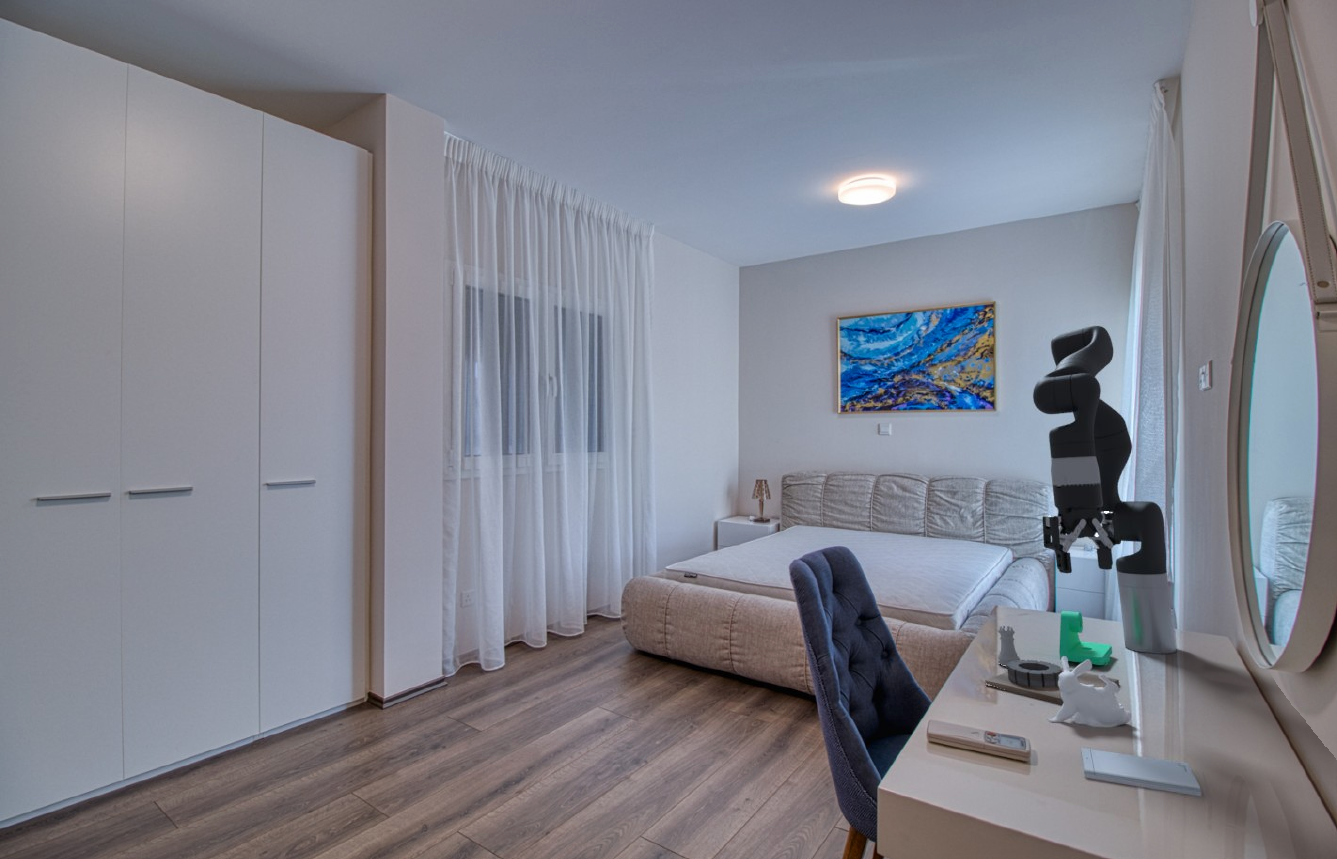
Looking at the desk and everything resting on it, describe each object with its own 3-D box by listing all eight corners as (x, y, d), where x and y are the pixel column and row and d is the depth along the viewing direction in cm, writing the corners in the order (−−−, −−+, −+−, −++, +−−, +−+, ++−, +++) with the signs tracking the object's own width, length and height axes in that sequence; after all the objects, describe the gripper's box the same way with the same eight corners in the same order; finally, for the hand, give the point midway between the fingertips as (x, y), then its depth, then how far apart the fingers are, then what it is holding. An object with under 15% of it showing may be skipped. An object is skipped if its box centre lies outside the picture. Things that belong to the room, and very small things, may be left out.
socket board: (1033, 666, 133) (1031, 650, 133) (1119, 684, 119) (1117, 666, 120) (985, 685, 123) (984, 667, 123) (1073, 707, 110) (1071, 686, 110)
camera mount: (1103, 670, 129) (1097, 619, 130) (1060, 664, 134) (1055, 615, 135) (1113, 656, 137) (1108, 609, 138) (1073, 651, 143) (1068, 606, 144)
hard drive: (1187, 761, 86) (1080, 745, 92) (1201, 787, 79) (1083, 768, 85) (1189, 774, 86) (1081, 757, 92) (1202, 801, 79) (1085, 781, 85)
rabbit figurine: (1047, 722, 104) (1042, 662, 105) (1044, 707, 111) (1039, 651, 112) (1135, 733, 99) (1129, 670, 99) (1126, 716, 105) (1121, 657, 106)
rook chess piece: (1019, 662, 136) (1015, 625, 137) (1023, 668, 132) (1019, 629, 133) (996, 661, 138) (992, 624, 139) (999, 667, 134) (996, 629, 134)
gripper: (1091, 480, 120) (1100, 565, 119) (1027, 484, 118) (1035, 571, 116) (1126, 479, 113) (1137, 570, 112) (1058, 483, 110) (1068, 576, 109)
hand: (1085, 570), depth 114 cm, fingers open, 8 cm apart
